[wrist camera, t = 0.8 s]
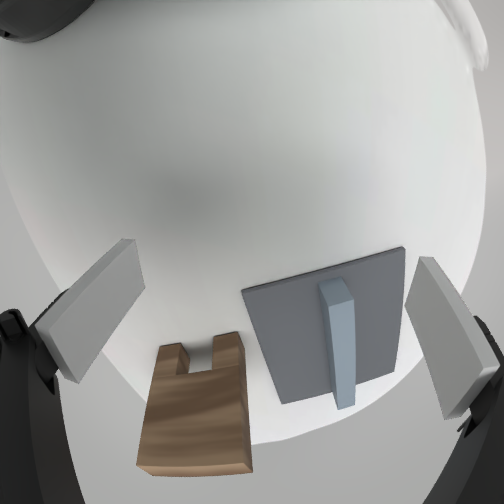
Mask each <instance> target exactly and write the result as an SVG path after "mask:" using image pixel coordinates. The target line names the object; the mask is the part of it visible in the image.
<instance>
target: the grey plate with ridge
mask: <svg viewBox="0 0 504 504" xmlns="http://www.w3.org/2000/svg"><path fill="white" fill-rule="evenodd" d="M404 277H405V248H404V247H400V248H397V249H394V250H390V251H387V252H383V253H380V254H377V255H373V256H370V257H366V258H363V259H359V260H356V261H352V262H348V263H345V264H341V265H338V266H334V267H330V268H327V269H323V270H319V271H315V272H312V273H308V274H304V275H300V276H297V277H293V278H289V279H285V280H281V281H277V282H273V283H269V284H265V285H261V286H257V287H253V288H249V289H245V290H241V292H242V296H243V299H244V302H245V305H246V308H247V311H248V314H249V316H250V319H251V322H252V325H253V328H254V330H255V333H256V336H257V339H258V342H259V344H260V347H261V350H262V353H263V355H264V358H265V361H266V364H267V366H268V369H269V372H270V374H271V377H272V380H273V382H274V385H275V388H276V391H277V393H278V396H279V399H280V401H281V404H286V403H291V402H295V401H299V400H304V399H308V398H312V397H315V396H319V395H323V394H327V393H330V392H333V395H334V398H335V402H336V405H337V409H338V410H340V409H343V408H347V407H350V406H353V405H355V385H357V384H360V383H363V382H366V381H369V380H372V379H375V378H378V377H381V376H383V375H386V374H389V373H392V372H394V369H395V363H396V356H397V350H398V343H399V335H400V326H401V317H402V306H403V294H404Z"/></svg>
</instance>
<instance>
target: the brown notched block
mask: <svg viewBox="0 0 504 504" xmlns="http://www.w3.org/2000/svg"><path fill="white" fill-rule="evenodd" d="M189 364H190V358H189V357H188V355H187V353H186V352H185V350H184V348H183V347H182V345H181V343H179V344H173V345H168V346H162V347H159V351H158V355H157V359H156V364H155V368H154V373H153V377H152V382H151V386H150V391H149V396H148V401H147V406H146V411H145V416H144V421H143V427H142V433H141V438H140V444H139V450H138V457H137V463H136V465H137V466H138V467H139V468H141V469H142V470H144V471H146V472H147V473H149V474H150V475H152V476H168V477H197V476H198V477H199V476H221V475H234V474H244V473H252V472H253V467H252V454H251V440H250V425H249V410H248V395H247V380H246V363H245V349H244V346H243V344H242V341H241V339H240V337H239V334H238V332H235V333H230V334H226V335H221V336H216V337H214V338H213V356H212V370H207V371H201V372H195V373H188V372H189Z"/></svg>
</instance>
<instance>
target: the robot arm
mask: <svg viewBox="0 0 504 504" xmlns="http://www.w3.org/2000/svg"><path fill="white" fill-rule="evenodd" d="M93 1H94V0H0V37H2V38H4V39H7V40H11V41H18V42H33V41H37V40H40V39H43V38H45V37H48V36H50V35H52V34H54V33H55V32H57V31H59V30H60V29H62V28H63V27H65V26H66V25H68V24H69V23H70V22H72V21H73V20H74V19H75V18H77V17H78V16H79V15H80V14H81V13H82V12H83V11H84V10H86V9H87V8H88V7H89V6H90V5H91V3H92V2H93ZM144 289H145V285H144V280H143V276H142V272H141V267H140V262H139V257H138V253H137V247H136V242H135V240H133V239H121V240H120V241H119V242H118V243H117V244H116V245H115V246H114V247H112V248H111V249H110V250H109V251H108V252H107V253H106V254H105V255H104V256H103V257H101V258H100V259H99V260H98V261H97V262H96V263H95V264H94V265H93V266H92V267H91V268H90V269H89V270H88V271H87V272H86V273H85V274H84V275H83V276H81V277H80V278H79V279H78V280H77V281H76V282H75V283H74V284H73V285H72V286H71V287H70V288H69V289H67V290H65V291H64V292H62V293H61V294H60V295H59V296H58V297H57V298H56V299H55V300H54V302H52V303H51V304H50V305H49V306H48V308H46V309H45V310H44V311H43V312H42V313H41V314H40V315H39V317H38V318H37V319H36V320H35V321H34V322H33V323H32V324H31V325H30V327H28V326H27V324H26V322H25V320H24V318H23V316H22V314H21V312H20V311H19V310H18V309H9V310H7V311H4V312H3V313H2V314H0V336H1V337H0V504H85V502H84V499H83V496H82V493H81V490H80V486H79V483H78V480H77V476H76V473H75V470H74V466H73V462H72V458H71V454H70V449H69V445H68V440H67V436H66V431H65V425H64V420H63V414H62V407H61V400H60V392H59V384H58V378H57V376H56V375H55V373H56V371H57V370H58V368H59V370H60V371H61V373H62V374H63V376H64V378H66V379H68V380H71V381H73V382H75V383H78V384H79V383H80V381H81V380H82V378H83V377H84V375H85V373H86V372H87V370H88V369H89V367H90V366H91V364H92V363H93V361H94V360H95V358H96V357H97V355H98V354H99V352H100V351H101V349H102V348H103V346H104V345H105V343H106V342H107V340H108V339H109V338H110V336H111V335H112V333H113V332H114V330H115V329H116V327H117V326H118V325H119V323H120V322H121V320H122V319H123V318H124V316H125V315H126V313H127V312H128V311H129V309H130V308H131V306H132V305H133V304H134V302H135V301H136V299H137V298H138V297H139V295H140V294H141V293H142V291H143V290H144ZM405 308H406V311H407V313H408V315H409V318H410V320H411V323H412V325H413V328H414V330H415V333H416V335H417V338H418V341H419V343H420V346H421V349H422V351H423V354H424V357H425V360H426V363H427V365H428V368H429V371H430V374H431V377H432V380H433V383H434V387H435V390H436V393H437V396H438V400H439V403H440V407H441V410H442V414H443V417H444V420H447V419H452V418H457V417H461V416H462V415H463V413H464V412H465V411H466V410H467V409H468V408H470V411H471V415H470V416H469V417H468V418H467V420H466V421H465V422H464V423H463V424H462V425H461V426H460V427H459V428H458V430H457V431H458V432H459V431H460V430H461V429H462V428H463V430H462V433H461V435H460V437H459V439H458V441H457V444H456V446H455V448H454V450H453V452H452V454H451V456H450V458H449V460H448V462H447V464H446V465H445V467H444V469H443V471H442V473H441V474H440V476H439V478H438V480H437V482H436V483H435V485H434V487H433V488H432V490H431V491H430V493H429V495H428V496H427V498H426V499H425V501H424V503H423V504H504V356H503V354H502V352H501V350H500V348H499V347H498V345H497V343H496V342H495V340H494V338H493V336H492V335H491V334H490V331H489V329H488V328H487V326H486V324H485V323H484V322H483V321H482V320H481V319H480V318H479V317H477V316H473V315H472V314H471V312H470V311H469V309H468V307H467V306H466V304H465V303H464V301H463V300H462V298H461V296H460V295H459V293H458V292H457V290H456V289H455V287H454V286H453V284H452V283H451V281H450V280H449V278H448V277H447V276H446V274H445V273H444V271H443V270H442V269H441V267H440V266H439V264H438V263H437V262H436V260H435V259H434V258H433V257H421V256H419V260H418V264H417V267H416V271H415V274H414V277H413V281H412V284H411V287H410V291H409V294H408V297H407V300H406V303H405Z"/></svg>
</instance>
